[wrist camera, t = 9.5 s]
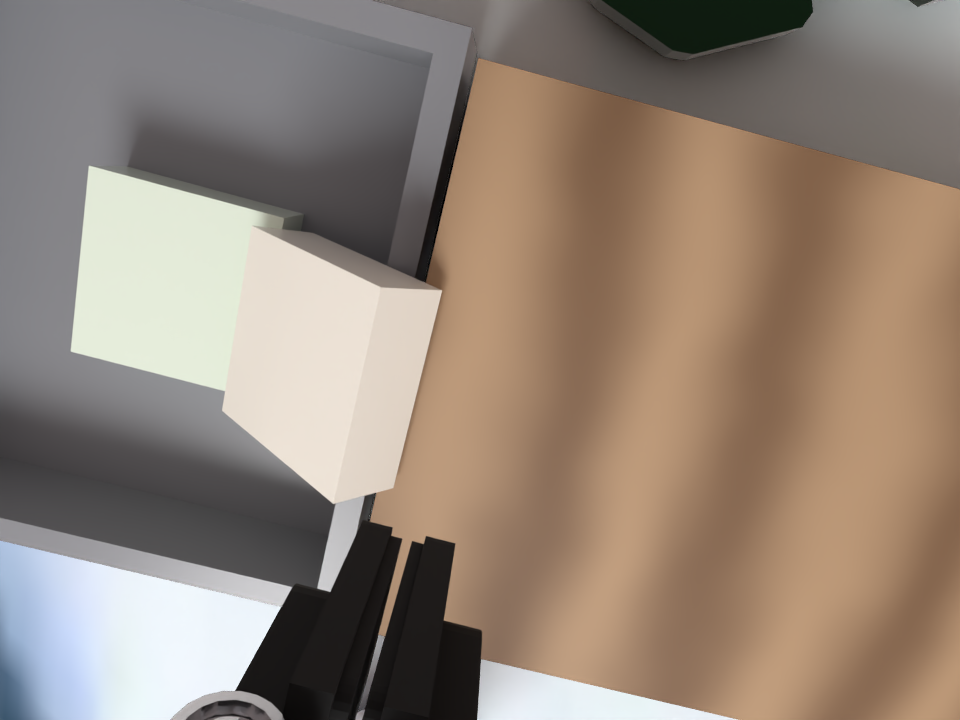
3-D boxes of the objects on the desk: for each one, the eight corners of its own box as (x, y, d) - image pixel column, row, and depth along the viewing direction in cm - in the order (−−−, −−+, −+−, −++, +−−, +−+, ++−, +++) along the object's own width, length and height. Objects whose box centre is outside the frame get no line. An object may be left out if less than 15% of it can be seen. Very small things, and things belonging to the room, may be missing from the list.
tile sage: (88, 165, 23) (127, 166, 26) (70, 351, 25) (108, 336, 28) (283, 218, 24) (304, 213, 26) (251, 398, 25) (273, 378, 28)
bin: (477, 53, 25) (472, 27, 20) (359, 556, 31) (336, 619, 26) (-33, -86, 24) (-151, -144, 20) (-53, 457, 30) (-147, 505, 25)
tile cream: (441, 290, 21) (381, 287, 19) (393, 488, 22) (333, 503, 21) (312, 232, 25) (251, 225, 23) (280, 403, 27) (221, 410, 25)
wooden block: (1077, 246, 26) (1243, 266, 20) (870, 660, 31) (954, 770, 25) (483, 85, 25) (478, 57, 19) (374, 540, 30) (345, 626, 25)
